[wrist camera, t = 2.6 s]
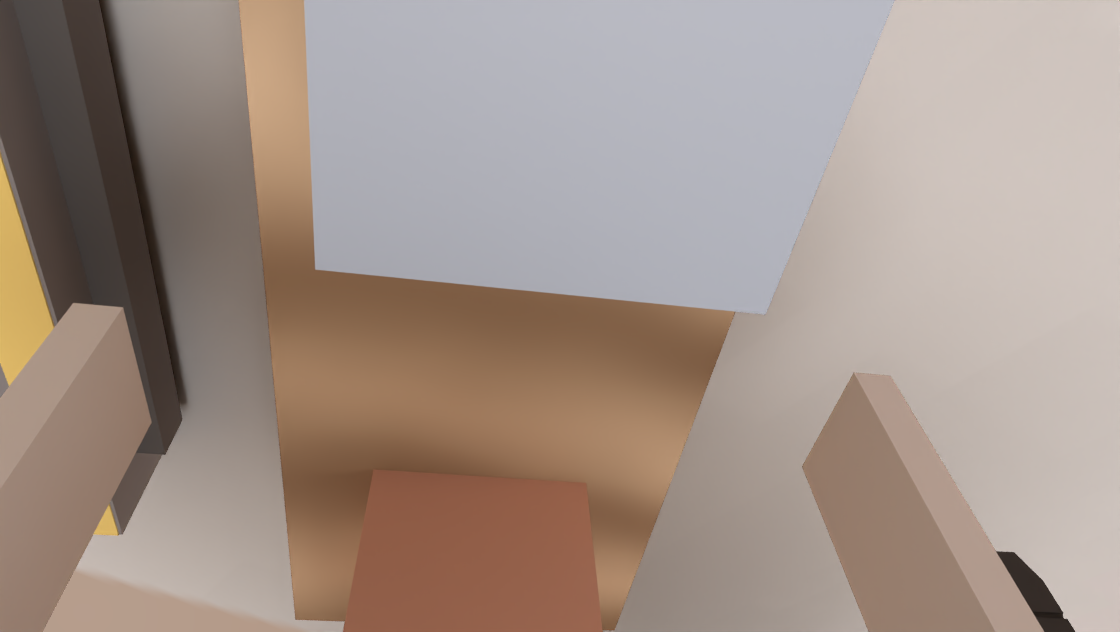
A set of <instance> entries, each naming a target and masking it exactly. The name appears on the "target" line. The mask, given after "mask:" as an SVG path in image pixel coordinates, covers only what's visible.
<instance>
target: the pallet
mask: <svg viewBox="0 0 1120 632" xmlns="http://www.w3.org/2000/svg"><path fill="white" fill-rule="evenodd" d="M239 10H240V21H241V32H242V43H243V54H244V65H245V76H246V87H247V97H248V108H249V119H250V130H251V141H252V152H253V163H254V174H255V184H256V195H257V206H258V217H259V228H260V239H261V250H262V261H263V272H264V282H265V293H266V304H267V315H268V326H269V337H270V348H271V359H272V369H273V380H274V391H275V402H276V413H277V424H278V435H279V446H280V456H281V467H282V478H283V489H284V500H285V511H286V522H287V533H288V543H289V554H290V565H291V576H292V587H293V598H294V609H295V620H321V621H345V619H346V613H347V608H348V603H349V597H350V592H351V587H352V581H353V576H354V571H355V565H356V560H357V555H358V549H359V544H360V539H361V533H362V528H363V523H364V517H365V512H366V507H367V501H368V496H369V491H370V485H371V480H372V475H373V469H375V470H391V471H407V472H422V473H438V474H454V475H470V476H486V477H502V478H518V479H533V480H549V481H565V482H581V483H586V485H587V494H588V503H589V513H590V522H591V531H592V540H593V549H594V558H595V567H596V576H597V585H598V594H599V603H600V612H601V622H602V630H615V627H616V625H617V622H618V619H619V617H620V614H621V611H622V609H623V606H624V604H625V601H626V598H627V596H628V593H629V590H630V588H631V585H632V582H633V580H634V577H635V575H636V572H637V569H638V567H639V564H640V561H641V559H642V556H643V554H644V551H645V548H646V546H647V543H648V540H649V538H650V535H651V532H652V530H653V527H654V525H655V522H656V519H657V517H658V514H659V511H660V509H661V506H662V504H663V501H664V498H665V496H666V493H667V490H668V488H669V485H670V482H671V480H672V477H673V475H674V472H675V469H676V467H677V464H678V461H679V459H680V456H681V454H682V451H683V448H684V446H685V443H686V440H687V438H688V435H689V432H690V430H691V427H692V425H693V422H694V419H695V417H696V414H697V411H698V409H699V406H700V404H701V401H702V398H703V396H704V393H705V390H706V388H707V385H708V382H709V380H710V377H711V375H712V372H713V369H714V367H715V364H716V361H717V359H718V356H719V354H720V351H721V348H722V346H723V343H724V340H725V338H726V335H727V332H728V330H729V327H730V325H731V322H732V319H733V317H734V314H735V311H725V310H715V309H705V308H695V307H685V306H675V305H665V304H655V303H645V302H635V301H625V300H615V299H605V298H595V297H585V296H575V295H565V294H555V293H545V292H535V291H525V290H515V289H505V288H495V287H485V286H475V285H465V284H455V283H445V282H435V281H425V280H415V279H405V278H395V277H385V276H375V275H365V274H355V273H345V272H335V271H325V270H315V252H314V228H313V204H312V180H311V156H310V131H309V107H308V83H307V59H306V35H305V10H304V0H239Z"/></svg>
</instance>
